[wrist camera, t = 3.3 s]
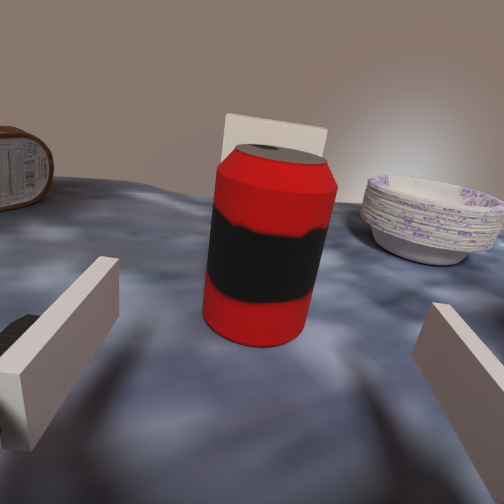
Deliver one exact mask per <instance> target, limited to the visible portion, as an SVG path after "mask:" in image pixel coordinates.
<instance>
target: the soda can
mask: <svg viewBox="0 0 504 504" xmlns="http://www.w3.org/2000/svg"><path fill="white" fill-rule="evenodd" d="M337 189H338V186H337V184H336V182H335V179H334V178H333V175H332V173H331V171H330V169H329V166H328V164H327V160H326V159H325V158H323V157H320V156H318V155H315V154H311V153H308V152H304V151H299V150H295V149H290V148H284V147H277V146H270V145H260V144H240V145H236V146H235V149H234V150H233V151H232V152H231V153H230V154H229V155H228V156H227V157H226V158H225V159H224V160H223V161H222V162H221V163H220V164H219V165H218V167H217V173H216V183H215V193H214V202H213V212H212V221H211V231H210V241H209V251H208V260H207V270H206V280H205V289H204V299H203V309H202V311H203V316H204V318H205V320H206V321H207V323H208V324H209V325H210V326H211V327H212V329H213V330H214V331H215V332H216V333H218V334H219V335H220V336H222V337H223V338H225V339H227V340H229V341H231V342H234V343H237V344H240V345H244V346H249V347H258V348H266V347H275V346H280V345H282V344H285V343H287V342H289V341H291V340H293V339H294V338H296V337H297V336H298V335H299V334H300V333H301V332H302V330H303V328H304V325H305V321H306V317H307V313H308V309H309V305H310V301H311V296H312V292H313V288H314V284H315V280H316V276H317V272H318V268H319V263H320V259H321V255H322V251H323V247H324V243H325V239H326V235H327V230H328V226H329V222H330V218H331V214H332V210H333V206H334V201H335V197H336V193H337Z"/></svg>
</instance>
